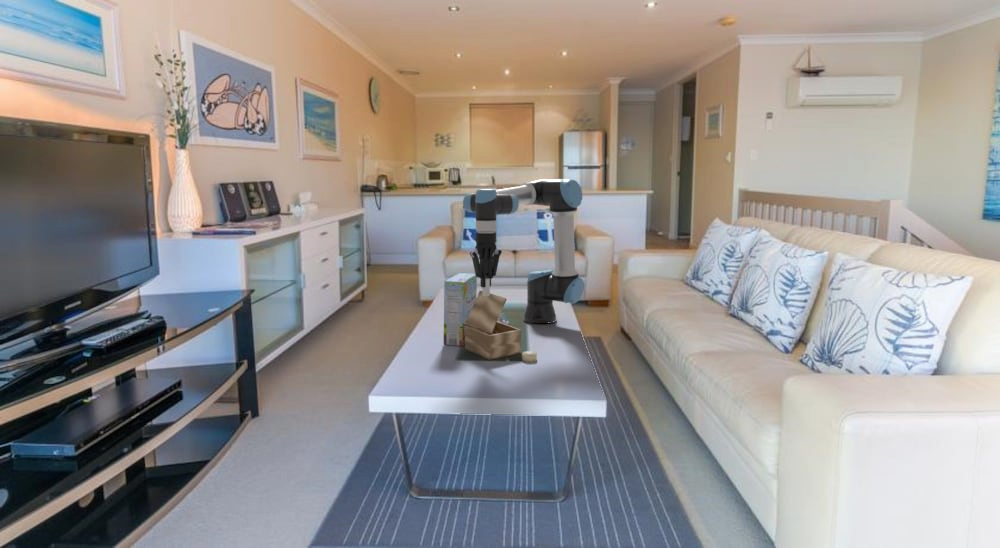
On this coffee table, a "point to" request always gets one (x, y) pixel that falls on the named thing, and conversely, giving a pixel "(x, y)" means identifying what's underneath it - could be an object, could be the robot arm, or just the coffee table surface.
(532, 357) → the cream domed disc
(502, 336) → the tan open box
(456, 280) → the snack box
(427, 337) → the coffee table surface
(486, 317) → the lid
